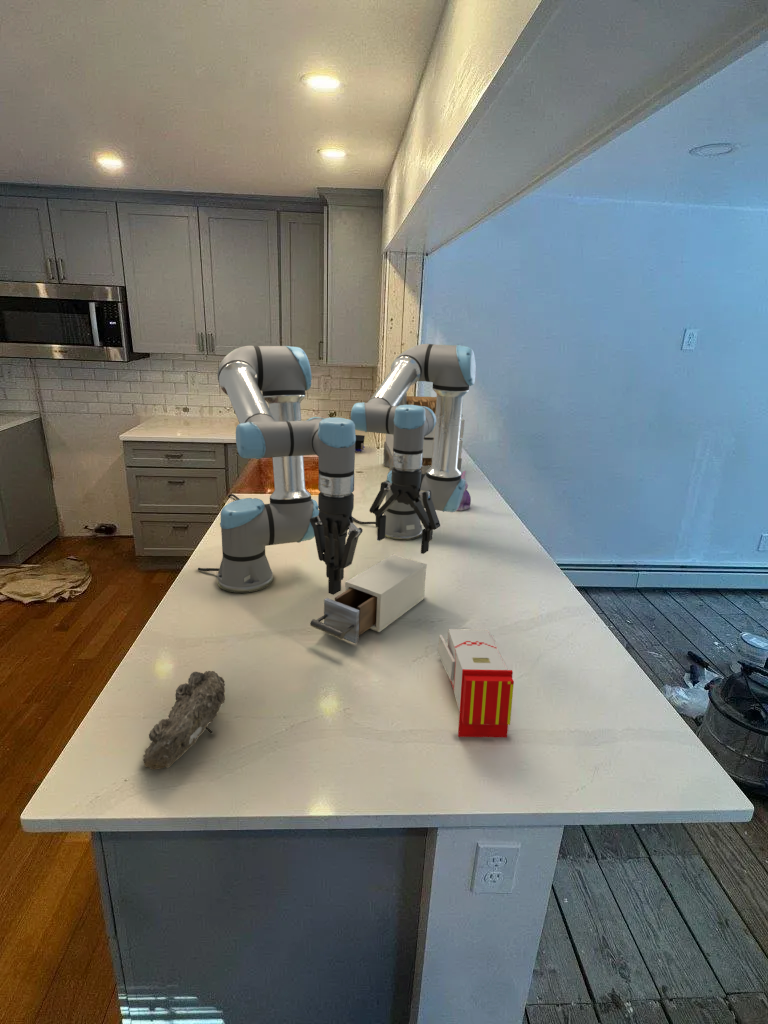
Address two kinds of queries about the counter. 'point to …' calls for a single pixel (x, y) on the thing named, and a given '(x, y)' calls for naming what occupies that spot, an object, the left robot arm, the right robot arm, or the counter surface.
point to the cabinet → (392, 587)
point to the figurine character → (359, 443)
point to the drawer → (348, 615)
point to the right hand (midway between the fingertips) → (402, 545)
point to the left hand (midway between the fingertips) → (334, 591)
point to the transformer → (428, 439)
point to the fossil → (185, 719)
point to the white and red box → (478, 682)
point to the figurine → (464, 496)
